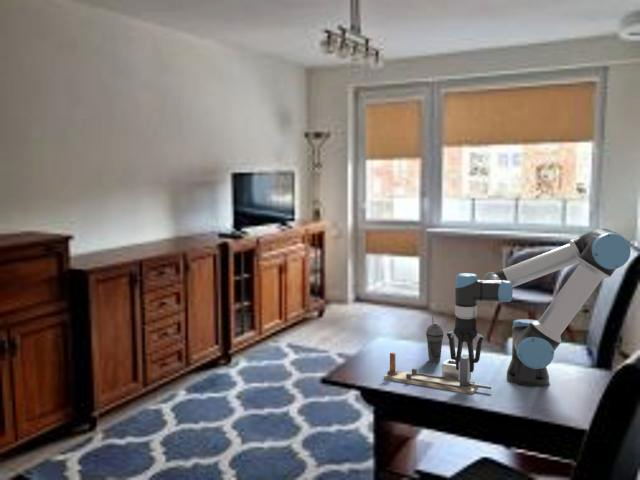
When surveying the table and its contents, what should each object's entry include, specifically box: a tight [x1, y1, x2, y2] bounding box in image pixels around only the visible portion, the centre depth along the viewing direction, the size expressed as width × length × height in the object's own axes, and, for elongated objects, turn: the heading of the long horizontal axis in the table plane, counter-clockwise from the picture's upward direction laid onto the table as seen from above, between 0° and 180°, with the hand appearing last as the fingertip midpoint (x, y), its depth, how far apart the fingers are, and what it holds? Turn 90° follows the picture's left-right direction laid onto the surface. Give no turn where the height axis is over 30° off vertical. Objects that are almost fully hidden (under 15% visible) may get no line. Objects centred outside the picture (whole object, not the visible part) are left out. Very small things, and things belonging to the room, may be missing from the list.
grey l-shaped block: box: [460, 353, 492, 390], centre depth 208 cm, size 11×5×10 cm, turn 62°
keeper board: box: [383, 352, 479, 395], centre depth 216 cm, size 34×8×9 cm, turn 62°
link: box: [441, 358, 459, 379], centre depth 221 cm, size 6×6×6 cm
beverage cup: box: [425, 313, 445, 363], centre depth 240 cm, size 7×7×20 cm
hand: (464, 379), depth 210 cm, fingers closed on grey l-shaped block, 2 cm apart
